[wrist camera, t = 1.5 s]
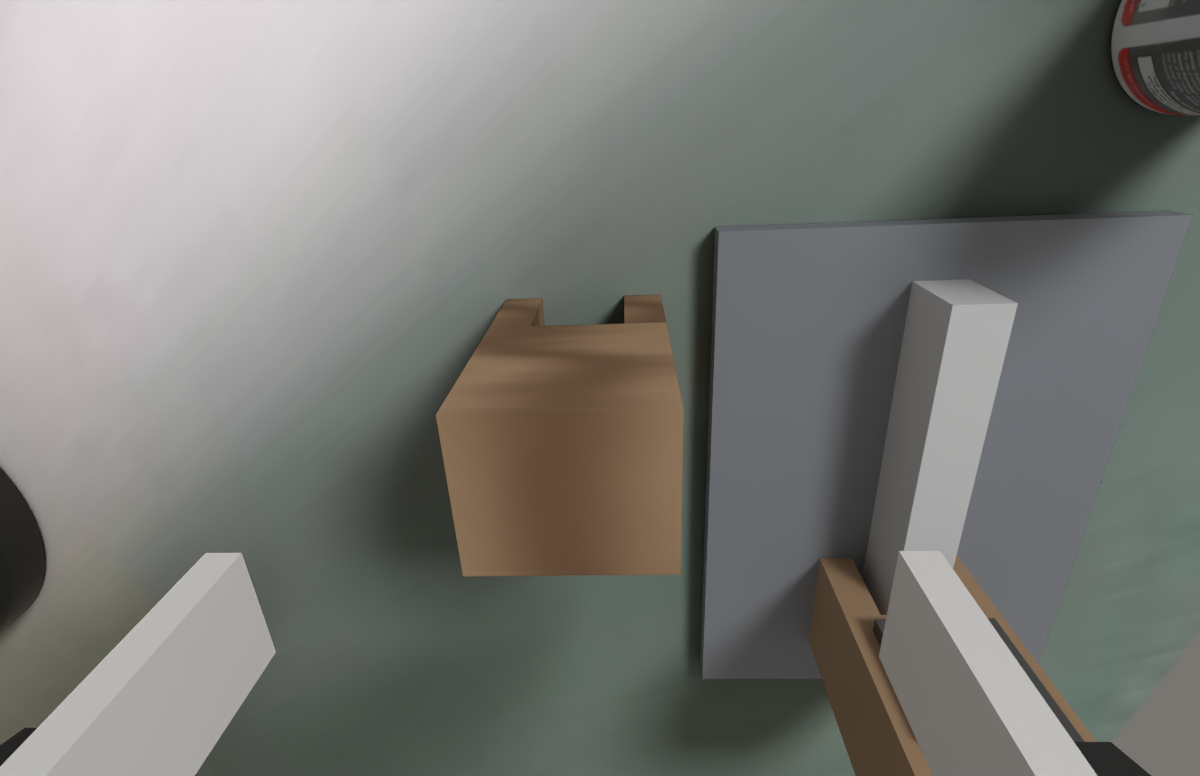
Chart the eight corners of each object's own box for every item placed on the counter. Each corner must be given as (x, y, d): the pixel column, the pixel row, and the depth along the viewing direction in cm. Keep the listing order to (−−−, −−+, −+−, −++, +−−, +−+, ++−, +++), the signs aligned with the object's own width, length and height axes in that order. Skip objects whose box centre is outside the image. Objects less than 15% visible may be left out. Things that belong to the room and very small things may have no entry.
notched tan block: (520, 426, 26) (466, 592, 17) (506, 299, 24) (435, 414, 15) (660, 423, 26) (680, 591, 17) (660, 294, 24) (683, 409, 15)
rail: (700, 662, 32) (735, 918, 22) (715, 226, 23) (787, 320, 13) (1021, 662, 31) (1211, 926, 21) (1169, 210, 22) (1628, 296, 12)
